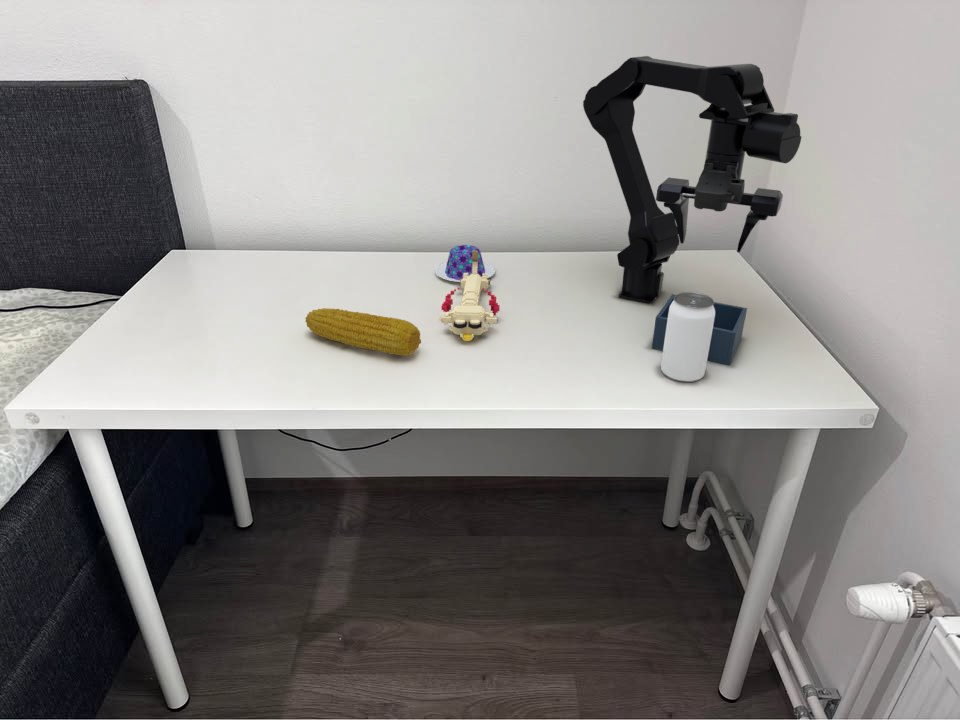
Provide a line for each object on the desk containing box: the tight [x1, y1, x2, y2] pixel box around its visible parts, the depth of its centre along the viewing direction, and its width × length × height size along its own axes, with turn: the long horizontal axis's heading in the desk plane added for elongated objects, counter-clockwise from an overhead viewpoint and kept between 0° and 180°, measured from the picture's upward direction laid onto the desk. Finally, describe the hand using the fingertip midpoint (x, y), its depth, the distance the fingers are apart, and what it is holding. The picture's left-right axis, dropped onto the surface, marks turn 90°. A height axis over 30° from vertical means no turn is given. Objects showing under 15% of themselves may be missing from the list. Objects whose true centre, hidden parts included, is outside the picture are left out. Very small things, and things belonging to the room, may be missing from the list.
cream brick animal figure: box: [440, 251, 501, 342], centre depth 123 cm, size 10×9×25 cm
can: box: [660, 291, 715, 383], centre depth 104 cm, size 6×6×12 cm
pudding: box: [434, 244, 496, 283], centre depth 140 cm, size 12×12×5 cm
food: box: [304, 307, 422, 357], centre depth 113 cm, size 21×6×6 cm, turn 66°
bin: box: [651, 293, 748, 366], centre depth 114 cm, size 12×10×6 cm
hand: (710, 247), depth 117 cm, fingers open, 9 cm apart
